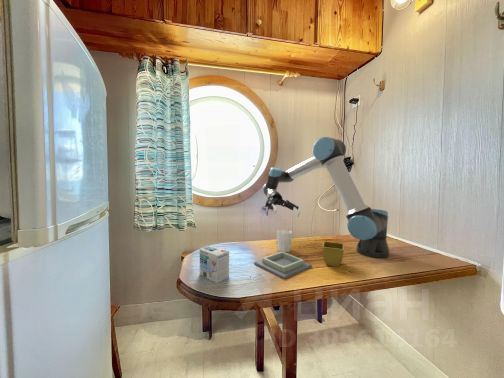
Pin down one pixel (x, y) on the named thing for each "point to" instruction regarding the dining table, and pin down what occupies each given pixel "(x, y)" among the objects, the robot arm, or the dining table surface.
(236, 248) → the dining table surface
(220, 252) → the light bulb box
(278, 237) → the white cup
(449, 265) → the dining table surface
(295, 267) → the holder tray
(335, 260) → the flower pot
